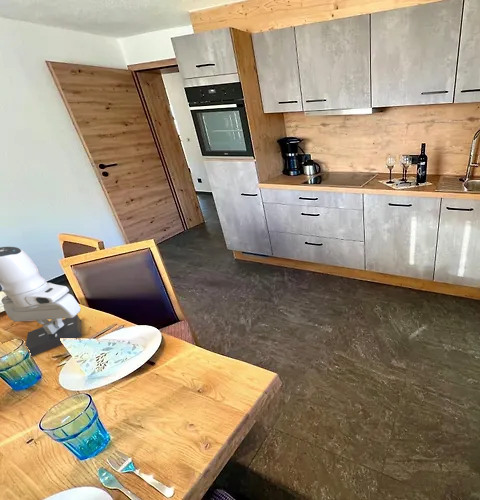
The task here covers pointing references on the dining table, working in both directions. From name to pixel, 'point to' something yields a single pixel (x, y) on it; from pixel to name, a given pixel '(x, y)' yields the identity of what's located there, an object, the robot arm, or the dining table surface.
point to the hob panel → (53, 336)
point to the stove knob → (50, 327)
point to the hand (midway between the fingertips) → (55, 327)
